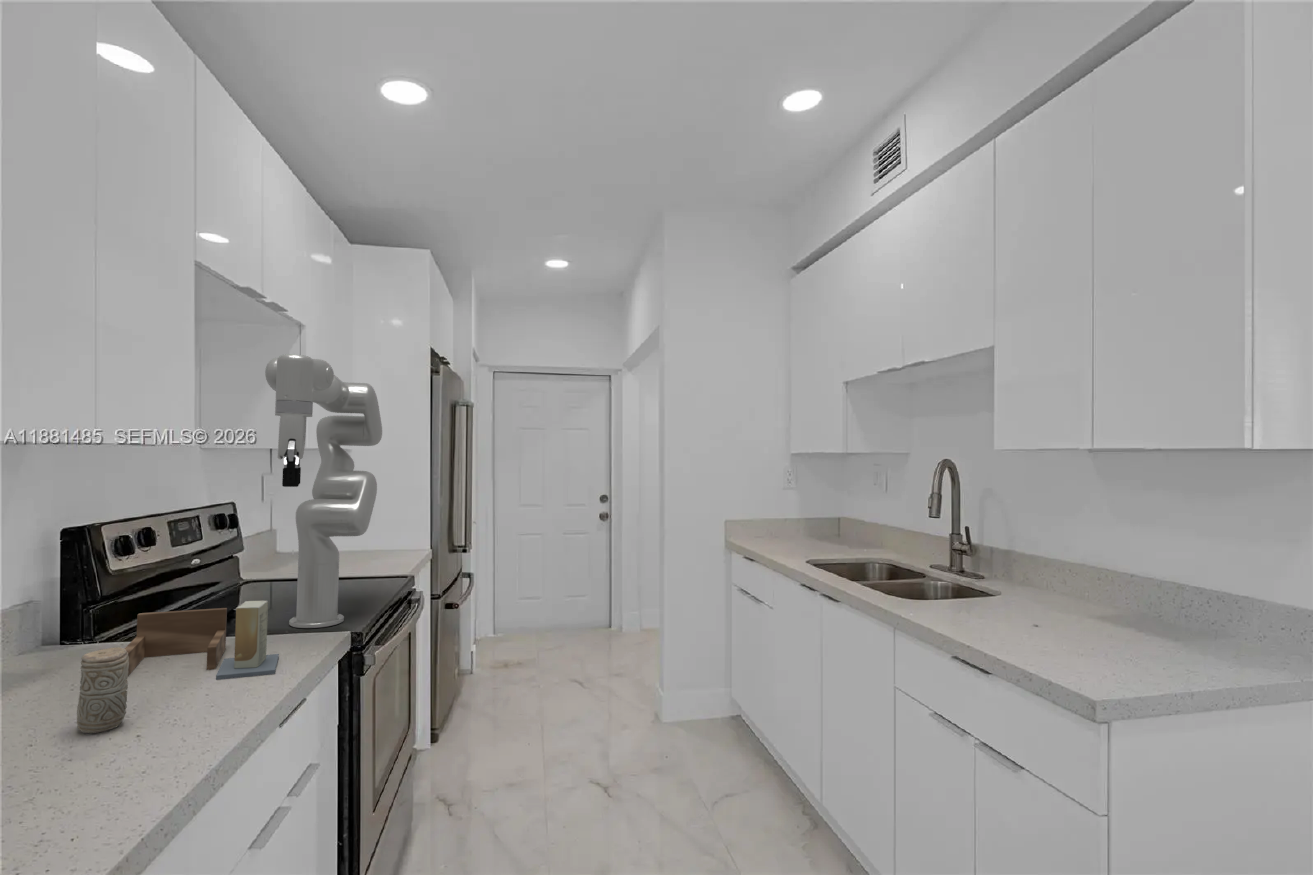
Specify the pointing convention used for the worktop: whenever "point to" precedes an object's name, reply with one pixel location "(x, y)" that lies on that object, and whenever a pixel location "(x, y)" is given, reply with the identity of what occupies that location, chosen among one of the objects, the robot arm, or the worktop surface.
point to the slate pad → (263, 669)
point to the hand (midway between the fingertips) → (291, 485)
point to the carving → (103, 690)
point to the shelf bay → (179, 635)
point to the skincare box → (251, 634)
